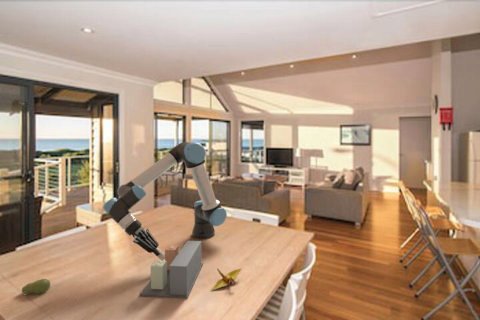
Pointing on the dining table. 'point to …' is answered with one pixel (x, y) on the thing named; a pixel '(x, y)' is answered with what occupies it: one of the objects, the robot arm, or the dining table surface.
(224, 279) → the origami crane
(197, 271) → the console
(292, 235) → the dining table surface
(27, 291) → the pear
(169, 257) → the button one
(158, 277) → the button two
